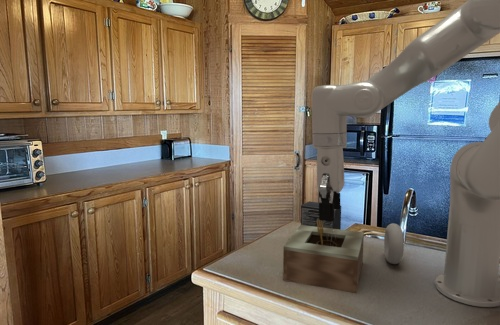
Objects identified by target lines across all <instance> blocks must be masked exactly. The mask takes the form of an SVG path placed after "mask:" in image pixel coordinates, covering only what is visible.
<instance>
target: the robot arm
mask: <svg viewBox="0 0 500 325" xmlns="http://www.w3.org/2000/svg"><path fill="white" fill-rule="evenodd" d="M499 34H500V0H467V1H466V2H464V3H462V4H461V5H460V6H459V7H457V8H456V9H455V10H453V11H451V12H450V13H448V15H446V16H444V18H443V19H440V20H439V21H438V22H437V23H436V24H434V25H433V26H431V27H430V28H429V29H427V30H425V31H424V32H423V33H422V34H420V35H419V36H416V37H415V38H414V39H413V40H412V41H411V42H410V43H408V45H407V46H405V47H404V49H403V50H402V51H401V52H400V53H399V55H397V56H396V57H395V58H394V59H393V60H392V61H391V62H390V63H388V65H386V66H384V68H382V69H381V70H379V71H378V72H377V73H375V74H373V75H372V76H371V77H370V78H368V79H367V80H366V81H365V80H363V81H357V82H353V83H348V84H342V85H341V84H325V85H318V86H316V87H314V88H313V89H312V92H311V115H312V118H311V119H312V120H311V122H312V125H311V126H312V130H311V131H312V148H313V149H317V150H316V186H317V187H316V188H317V191H318V192H319V195H318V196H319V198H318V203H319V220H322V221H334V209H340V206H341V191H342V189H343V188H344V187H345V164H344V163H345V162H344V150H343V149H346V148H347V146H348V145H347V144H348V143H347V141H348V139H347V135H348V133H347V130H348V128H347V127H348V126H347V125H348V123H347V121H348V120H347V117H354V118H362V119H363V118H369V117H372V116H374V115H376V114H377V113H378V112H380V111H381V110H383V109H384V108H385V107H387V106H388V105H390V104H391V103H393V102H394V101H396V100H397V99H399V98H400V97H401V96H403V95H405V94H406V93H408V92H409V91H411V90H413V89H414V88H416V87H418V86H419V85H421V84H423V83H425V82H428V81H430V80H432V79H434V78H435V77H436V76H438V75H439V74H441V73H442V72H444V71H445V70H446V69H449V67H451V66H454V64H455V63H457V62H459V61H460V60H461V59H463V58H465V57H466V56H467V55H469V54H470V53H473V51H475V50H476V49H478V48H480V47H482V45H484V44H485V43H487V42H488V41H490V40H492V39H493V38H495V37H496V36H497V35H499ZM488 126H489V129H490V131H491V132H490V133H489V134H488V135H487V136H486V137H485V139H484V140H483V141H474V142H470V143H467V144H465V145H463V146H462V147H460V148H459V149H458V150H457V151H456V152H455V154H454V156H453V157H452V159H451V164H450V171H449V173H450V174H449V179H450V180H449V181H450V182H449V183H450V187H449V190H450V193H449V195H450V197H449V213H448V224H447V232H446V233H447V236H446V246H445V258H444V259H445V262H444V270H443V272H444V273H443V274H440V275H437V277H436V278H435V283H434V285H435V286H434V287H435V288H436V289H437V291H439V292H440V293H441V294H442V295H443V296H445V297H447V298H448V299H451V300H453V301H456V302H458V303H460V304H461V303H462V304H464V305H469V306H473V307H481V308H493V307H500V275H499V270H500V101H499V102H498V103H497V104H496V106H494V108H493V110H491V113H490V116H489V118H488Z"/></svg>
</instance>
